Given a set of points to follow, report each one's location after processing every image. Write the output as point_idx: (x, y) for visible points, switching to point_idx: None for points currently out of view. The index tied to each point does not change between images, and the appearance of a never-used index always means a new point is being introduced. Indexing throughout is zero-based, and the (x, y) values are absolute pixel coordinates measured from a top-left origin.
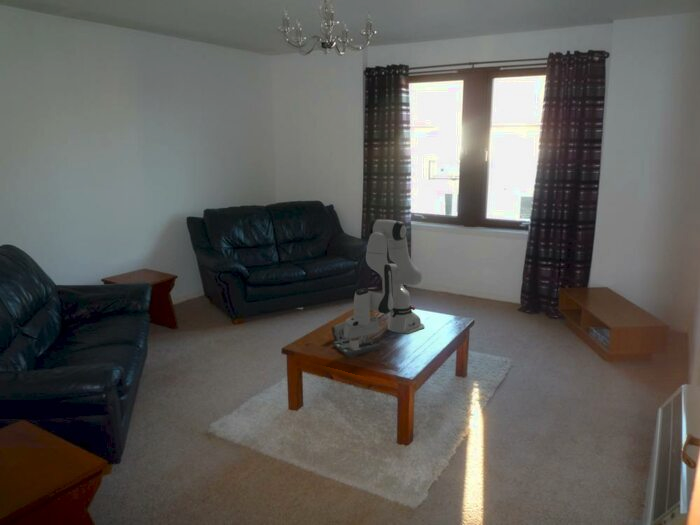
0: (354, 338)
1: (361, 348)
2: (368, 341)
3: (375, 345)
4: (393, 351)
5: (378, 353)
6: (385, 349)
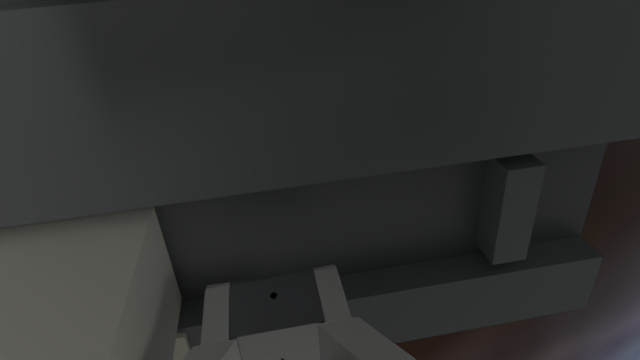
0: None
1: None
2: (530, 106)
3: (503, 311)
4: (607, 344)
5: (428, 353)
6: None
